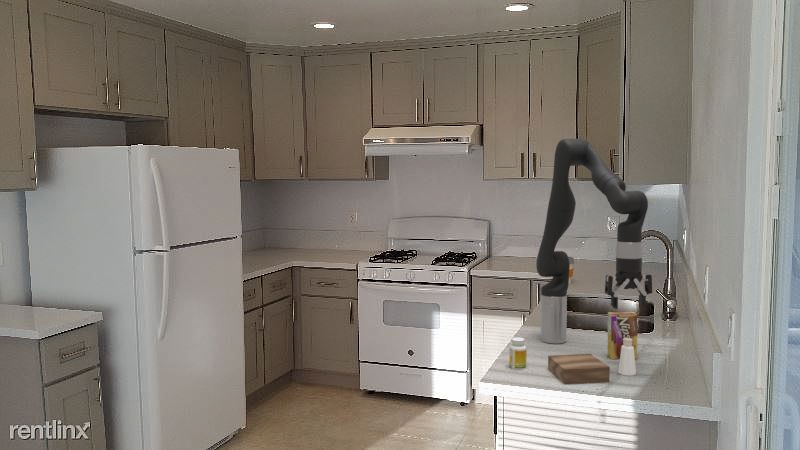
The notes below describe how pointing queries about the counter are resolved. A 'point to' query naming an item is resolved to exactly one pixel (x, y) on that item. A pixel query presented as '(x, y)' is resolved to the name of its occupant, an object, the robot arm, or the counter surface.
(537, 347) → the counter surface
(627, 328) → the candy box
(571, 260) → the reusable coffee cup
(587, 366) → the walnut riser
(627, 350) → the salt shaker
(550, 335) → the robot arm
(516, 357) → the supplement bottle
